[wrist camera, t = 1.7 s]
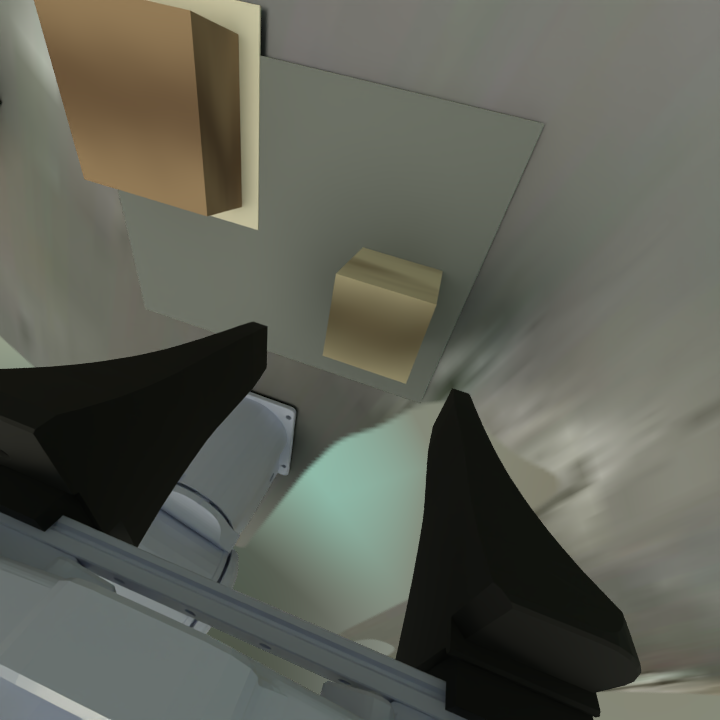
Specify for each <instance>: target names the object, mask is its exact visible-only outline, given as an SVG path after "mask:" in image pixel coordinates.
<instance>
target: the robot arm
mask: <svg viewBox="0 0 720 720" xmlns="http://www.w3.org/2000/svg"><path fill="white" fill-rule="evenodd" d="M267 334H268V326H265V325H262V324H259V323H256V322H249V323H246V324H243V325H240V326H237V327H234V328H231V329H228V330H225V331H222V332H219V333H217V334H214V335H211V336H208V337H205V338H202V339H199V340H195V341H192V342H189V343H185V344H182V345H179V346H175V347H172V348H168V349H164V350H160V351H156V352H151V353H147V354H142V355H137V356H132V357H126V358H120V359H114V360H107V361H101V362H94V363H85V364H76V365H65V366H53V367H36V368H16V369H15V368H14V369H0V720H593V716H594V717H599V716H600V708H599V703H598V699H597V695H596V692H600V691H604V690H608V689H612V688H616V687H620V686H624V685H627V684H629V683H632V682H634V681H635V680H636V678H637V677H638V676H639V675H640V673H641V665H640V662H639V659H638V656H637V653H636V650H635V647H634V644H633V641H632V638H631V635H630V632H629V629H628V626H627V623H626V621H625V618H624V616H623V613H622V612H621V610H620V609H619V608H618V607H617V606H616V605H615V604H614V603H613V602H612V601H611V600H610V599H609V598H608V597H607V596H606V595H605V594H604V593H603V592H602V591H601V590H600V589H599V588H598V586H597V585H596V584H595V583H594V582H593V581H592V580H591V579H590V578H589V577H588V576H587V575H586V574H585V573H584V572H583V571H582V570H581V569H580V567H579V566H578V565H577V564H576V563H575V562H574V561H573V559H572V558H571V557H570V556H569V555H568V554H567V552H566V551H565V550H564V549H563V548H562V547H561V546H560V544H559V543H558V542H557V541H556V540H555V538H554V537H553V536H552V535H551V533H550V532H549V531H548V530H547V528H546V527H545V526H544V525H543V523H542V522H541V521H540V519H539V518H538V517H537V515H536V514H535V513H534V511H533V510H532V509H531V507H530V506H529V505H528V503H527V502H526V500H525V499H524V498H523V496H522V495H521V493H520V492H519V490H518V488H517V487H516V485H515V484H514V482H513V481H512V479H511V478H510V476H509V475H508V473H507V471H506V470H505V468H504V466H503V464H502V463H501V461H500V459H499V457H498V455H497V454H496V452H495V450H494V448H493V446H492V444H491V442H490V440H489V438H488V435H487V433H486V431H485V429H484V427H483V425H482V422H481V420H480V418H479V416H478V413H477V411H476V409H475V406H474V404H473V401H472V399H471V397H470V395H469V394H468V393H465V392H462V391H459V390H456V389H453V388H452V390H451V392H450V394H449V396H448V398H447V400H446V402H445V404H444V406H443V408H442V410H441V412H440V414H439V416H438V418H437V419H436V421H435V423H434V425H433V429H432V434H431V438H430V444H429V449H428V460H427V474H426V490H425V504H424V515H423V523H422V529H421V535H420V541H419V546H418V553H417V557H416V563H415V568H414V574H413V579H412V584H411V589H410V594H409V599H408V604H407V609H406V614H405V618H404V623H403V628H402V632H401V637H400V641H399V646H398V651H397V655H396V659H393V658H390V657H388V656H386V655H384V654H381V653H379V652H376V651H374V650H372V649H370V648H367V647H365V646H363V645H360V644H358V643H356V642H354V641H351V640H349V639H347V638H344V637H342V636H340V635H338V634H335V633H333V632H331V631H328V630H326V629H324V628H321V627H319V626H317V625H314V624H312V623H310V622H307V621H305V620H303V619H301V618H298V617H296V616H294V615H292V614H289V613H287V612H285V611H282V610H280V609H278V608H275V607H273V606H271V605H268V604H266V603H264V602H261V601H259V600H257V599H255V598H252V597H250V596H248V595H245V594H243V593H241V592H238V591H236V590H234V589H232V588H233V586H234V583H235V580H236V577H237V573H238V554H237V551H235V550H234V549H232V548H233V547H234V545H235V543H236V542H237V540H238V538H239V536H240V535H239V534H240V533H241V532H242V531H243V530H244V529H245V527H246V526H247V525H248V523H249V522H250V520H251V518H252V516H253V515H254V513H255V511H256V509H257V508H258V506H259V504H260V502H261V501H262V499H263V497H264V496H265V494H266V492H267V490H268V489H269V487H270V485H271V483H272V482H273V480H274V478H275V476H276V475H277V473H279V474H282V475H288V473H289V471H290V462H291V453H292V445H293V436H294V428H295V419H296V410H295V409H294V408H293V407H291V406H288V405H285V404H283V403H280V402H277V401H274V400H271V399H269V398H266V397H263V396H260V395H258V394H255V393H252V392H250V391H251V390H252V389H253V387H254V386H255V384H256V383H257V382H258V380H259V379H260V377H261V376H262V374H263V372H264V371H265V369H266V367H267ZM211 627H213V628H216V629H218V630H220V631H223V632H225V633H227V634H229V635H231V636H233V637H236V638H238V639H240V640H242V641H244V642H247V643H249V644H251V645H253V646H256V647H258V648H260V649H262V650H265V651H267V652H269V653H271V654H274V655H275V656H278V657H280V658H282V659H284V660H287V661H289V662H291V663H293V664H295V665H298V666H300V667H302V668H304V669H306V670H309V671H311V672H313V673H315V674H318V675H320V676H322V677H324V678H327V679H329V680H331V681H333V682H331V681H327V682H325V683H324V684H323V687H322V691H321V695H319V694H317V693H315V692H313V691H311V690H309V689H308V688H306V687H304V686H302V685H300V684H298V683H296V682H295V681H293V680H291V679H289V678H287V677H285V676H284V675H282V674H280V673H278V672H276V671H274V670H273V669H271V668H269V667H267V666H265V665H263V664H262V663H260V662H258V661H256V660H254V659H252V658H250V657H248V656H246V655H244V654H242V653H241V652H239V651H237V650H235V649H233V648H232V647H230V646H228V645H226V644H224V643H222V642H220V641H218V640H216V639H215V638H213V637H211V636H209V635H207V632H208V631H209V629H210V628H211Z"/></svg>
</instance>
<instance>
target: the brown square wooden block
mask: <svg viewBox="0 0 720 720" xmlns="http://www.w3.org/2000/svg"><path fill="white" fill-rule="evenodd" d="M34 2H35V6H36V9H37V13H38V16H39V20H40V23H41V27H42V30H43V34H44V38H45V41H46V45H47V48H48V52H49V55H50V59H51V62H52V66H53V69H54V73H55V76H56V80H57V84H58V87H59V91H60V94H61V98H62V101H63V105H64V108H65V112H66V115H67V119H68V122H69V126H70V130H71V133H72V137H73V140H74V144H75V147H76V151H77V154H78V158H79V161H80V165H81V168H82V172H83V176H84V179H85V180H89V181H92V182H95V183H99V184H102V185H105V186H108V187H112V188H115V189H118V190H122V191H125V192H128V193H132V194H135V195H138V196H141V197H145V198H148V199H151V200H155V201H158V202H161V203H165V204H168V205H171V206H174V207H178V208H181V209H184V210H188V211H191V212H194V213H198V214H201V215H204V216H211V215H214V214H218V213H222V212H226V211H229V210H233V209H237V208H240V207H242V182H241V133H240V85H239V36H238V34H237V33H235V32H233V31H231V30H229V29H227V28H225V27H223V26H221V25H219V24H217V23H215V22H213V21H210V20H208V19H206V18H204V17H202V16H200V15H198V14H196V13H194V12H192V11H190V10H186V9H182V8H177V7H173V6H169V5H164V4H160V3H156V2H151V1H147V0H34Z"/></svg>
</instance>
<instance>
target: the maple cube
mask: <svg viewBox="0 0 720 720" xmlns="http://www.w3.org/2000/svg"><path fill="white" fill-rule="evenodd" d="M442 272H443V271H441V270H438V269H434V268H431V267H428V266H424V265H421V264H417V263H414V262H411V261H407V260H404V259H401V258H397V257H394V256H391V255H387V254H384V253H380V252H377V251H374V250H370V249H367V248H364V247H363V248H362V249H361V250H360V251H359V252H358V253H357V254H356V255H355V256H354V257H352V258H351V259H350V260H349V261H348V262H347V263H346V264H345V265H344V266H343V267H342V268H341V269H340V270H339V271H338V272H337V273H336V276H335V283H334V289H333V295H332V301H331V307H330V313H329V319H328V325H327V332H326V338H325V344H324V350H323V356H325V357H328V358H331V359H334V360H337V361H340V362H343V363H346V364H349V365H352V366H355V367H357V368H360V369H363V370H366V371H369V372H372V373H375V374H378V375H381V376H384V377H387V378H390V379H393V380H396V381H399V382H402V383H405V384H406V382H407V380H408V377H409V375H410V372H411V370H412V367H413V364H414V362H415V359H416V357H417V354H418V351H419V349H420V346H421V344H422V341H423V338H424V336H425V333H426V331H427V328H428V326H429V323H430V320H431V318H432V315H433V313H434V310H435V307H436V305H437V300H438V294H439V289H440V283H441V278H442Z"/></svg>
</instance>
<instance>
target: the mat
mask: <svg viewBox="0 0 720 720" xmlns="http://www.w3.org/2000/svg"><path fill="white" fill-rule="evenodd" d="M147 1H151V2H156V3H160V4H164V5H169V6H173V7H177V8H182V9H186V10H190V11H192V12H194V13H196V14H198V15H200V16H202V17H204V18H206V19H208V20H210V21H213V22H215V23H217V24H219V25H221V26H223V27H225V28H227V29H229V30H231V31H233V32H235V33H237V34H238V36H239V85H240V133H241V182H242V207H240V208H237V209H233V210H229V211H226V212H222V213H218V214H214V215H211V216H204V215H201V214H198V213H194V212H191V211H188V210H184V209H181V208H178V207H174V206H171V205H168V204H165V203H161V202H158V201H155V200H151V199H148V198H145V197H141V196H138V195H135V194H132V193H128V192H125V191H122V190H118V193H119V197H120V202H121V206H122V210H123V215H124V219H125V223H126V228H127V232H128V236H129V241H130V245H131V249H132V254H133V258H134V262H135V267H136V271H137V275H138V280H139V284H140V288H141V293H142V297H143V301H144V306H145V309H147V310H150V311H153V312H155V313H158V314H161V315H164V316H167V317H170V318H173V319H176V320H179V321H182V322H185V323H187V324H190V325H193V326H196V327H199V328H202V329H205V330H208V331H211V332H214V333H219V332H222V331H225V330H228V329H231V328H234V327H237V326H240V325H243V324H246V323H249V322H256V323H259V324H262V325H265V326H268V334H267V351H269V352H272V353H275V354H278V355H281V356H283V357H286V358H289V359H292V360H295V361H298V362H301V363H304V364H307V365H310V366H313V367H315V368H318V369H321V370H324V371H327V372H330V373H333V374H336V375H339V376H342V377H345V378H347V379H350V380H353V381H356V382H359V383H362V384H365V385H368V386H371V387H374V388H377V389H379V390H382V391H385V392H388V393H391V394H394V395H397V396H400V397H403V398H406V399H409V400H411V401H414V402H417V403H421V401H422V399H423V396H424V394H425V392H426V390H427V387H428V385H429V383H430V381H431V378H432V376H433V374H434V372H435V369H436V367H437V365H438V363H439V360H440V358H441V356H442V354H443V351H444V349H445V347H446V345H447V342H448V340H449V338H450V336H451V333H452V331H453V329H454V327H455V324H456V322H457V320H458V318H459V315H460V313H461V311H462V309H463V306H464V304H465V302H466V300H467V297H468V295H469V293H470V291H471V288H472V286H473V284H474V282H475V279H476V277H477V275H478V273H479V270H480V268H481V266H482V264H483V262H484V259H485V257H486V255H487V253H488V250H489V248H490V246H491V244H492V241H493V239H494V237H495V235H496V232H497V230H498V228H499V226H500V223H501V221H502V219H503V217H504V214H505V212H506V210H507V208H508V205H509V203H510V201H511V199H512V196H513V194H514V192H515V190H516V187H517V185H518V183H519V181H520V178H521V176H522V174H523V172H524V169H525V167H526V165H527V163H528V160H529V158H530V156H531V154H532V151H533V149H534V147H535V145H536V142H537V140H538V138H539V136H540V133H541V131H542V129H543V127H544V124H543V123H539V122H535V121H531V120H527V119H522V118H518V117H514V116H510V115H506V114H502V113H498V112H493V111H489V110H485V109H481V108H477V107H473V106H468V105H464V104H460V103H456V102H452V101H448V100H443V99H439V98H435V97H431V96H427V95H423V94H419V93H414V92H410V91H406V90H402V89H398V88H394V87H389V86H385V85H381V84H377V83H373V82H369V81H365V80H360V79H356V78H352V77H348V76H344V75H340V74H335V73H331V72H327V71H323V70H319V69H315V68H310V67H306V66H302V65H298V64H294V63H290V62H286V61H281V60H277V59H273V58H269V57H265V56H261V6H259V5H255V4H250V3H246V2H241V1H237V0H147ZM363 247H364V248H367V249H370V250H374V251H377V252H380V253H384V254H387V255H391V256H394V257H397V258H401V259H404V260H407V261H411V262H414V263H417V264H421V265H424V266H428V267H431V268H434V269H438V270H441V271H443V272H442V278H441V283H440V289H439V294H438V300H437V305H436V307H435V310H434V313H433V315H432V318H431V320H430V323H429V326H428V328H427V331H426V333H425V336H424V338H423V341H422V344H421V346H420V349H419V351H418V354H417V357H416V359H415V362H414V364H413V367H412V370H411V372H410V375H409V377H408V380H407V382H406V384H405V383H402V382H399V381H396V380H393V379H390V378H387V377H384V376H381V375H378V374H375V373H372V372H369V371H366V370H363V369H360V368H357V367H355V366H352V365H349V364H346V363H343V362H340V361H337V360H334V359H331V358H328V357H325V356H323V350H324V344H325V338H326V332H327V325H328V319H329V313H330V307H331V301H332V295H333V289H334V283H335V276H336V273H337V272H338V271H339V270H340V269H341V268H342V267H343V266H344V265H345V264H346V263H347V262H348V261H349V260H350V259H351V258H352V257H354V256H355V255H356V254H357V253H358V252H359V251H360V250H361V249H362V248H363Z"/></svg>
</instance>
